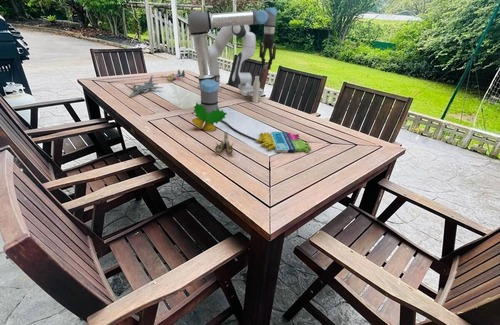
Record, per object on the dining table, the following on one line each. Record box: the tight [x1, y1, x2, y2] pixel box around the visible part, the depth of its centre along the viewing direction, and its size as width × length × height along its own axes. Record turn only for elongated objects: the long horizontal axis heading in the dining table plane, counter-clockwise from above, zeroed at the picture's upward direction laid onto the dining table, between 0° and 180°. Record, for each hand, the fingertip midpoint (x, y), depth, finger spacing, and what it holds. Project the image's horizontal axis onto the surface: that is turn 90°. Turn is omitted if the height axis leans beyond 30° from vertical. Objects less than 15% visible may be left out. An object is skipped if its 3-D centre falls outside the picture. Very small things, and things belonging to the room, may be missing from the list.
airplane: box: [127, 74, 164, 98], centre depth 226 cm, size 38×31×10 cm
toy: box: [160, 69, 186, 82], centre depth 279 cm, size 28×7×30 cm
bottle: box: [251, 75, 261, 103], centre depth 219 cm, size 6×6×21 cm
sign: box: [255, 131, 312, 154], centre depth 152 cm, size 26×2×30 cm
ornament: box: [191, 102, 228, 132], centre depth 162 cm, size 21×8×15 cm, turn 105°
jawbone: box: [214, 131, 234, 156], centre depth 136 cm, size 9×15×10 cm
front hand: (266, 68), depth 192 cm, fingers closed on cap, 4 cm apart
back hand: (256, 94), depth 220 cm, fingers closed on bottle, 5 cm apart
